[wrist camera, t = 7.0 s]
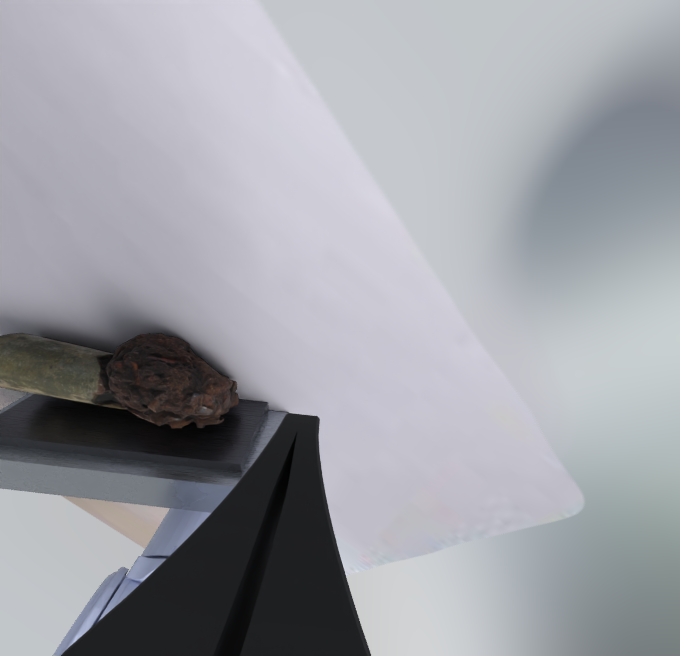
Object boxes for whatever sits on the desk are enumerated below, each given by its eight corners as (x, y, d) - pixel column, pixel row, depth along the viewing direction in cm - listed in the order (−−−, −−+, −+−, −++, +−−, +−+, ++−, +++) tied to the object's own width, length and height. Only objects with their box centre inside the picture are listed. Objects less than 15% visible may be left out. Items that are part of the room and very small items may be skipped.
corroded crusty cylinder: (58, 367, 22) (-29, 413, 17) (28, 301, 19) (-88, 334, 14) (244, 400, 23) (212, 455, 18) (243, 340, 20) (204, 385, 15)
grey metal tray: (289, 440, 25) (266, 519, 19) (61, 414, 25) (-36, 484, 19) (288, 405, 22) (263, 481, 16) (38, 377, 23) (-82, 442, 16)
